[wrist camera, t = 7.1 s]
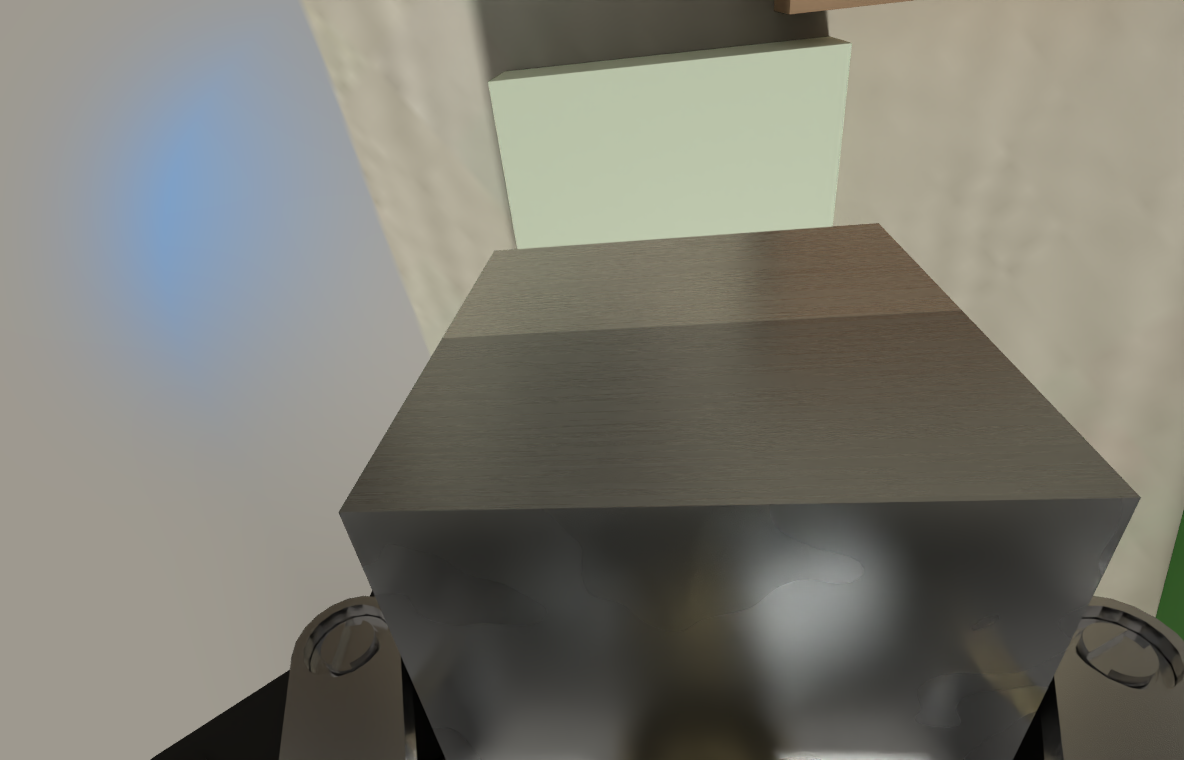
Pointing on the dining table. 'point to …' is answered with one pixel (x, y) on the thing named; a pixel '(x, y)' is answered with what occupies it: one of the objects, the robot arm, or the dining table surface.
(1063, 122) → the dining table surface
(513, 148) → the stand
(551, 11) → the dining table surface
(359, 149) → the dining table surface
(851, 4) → the stand
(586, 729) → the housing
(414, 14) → the dining table surface
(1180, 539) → the hardback book
